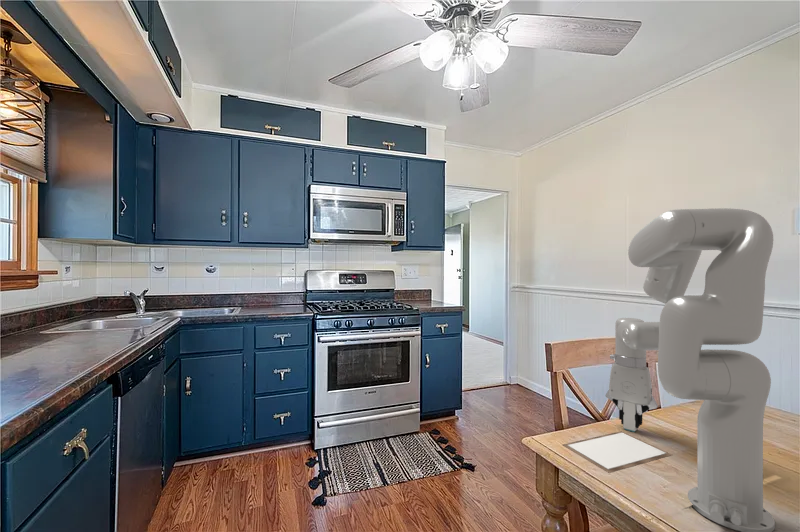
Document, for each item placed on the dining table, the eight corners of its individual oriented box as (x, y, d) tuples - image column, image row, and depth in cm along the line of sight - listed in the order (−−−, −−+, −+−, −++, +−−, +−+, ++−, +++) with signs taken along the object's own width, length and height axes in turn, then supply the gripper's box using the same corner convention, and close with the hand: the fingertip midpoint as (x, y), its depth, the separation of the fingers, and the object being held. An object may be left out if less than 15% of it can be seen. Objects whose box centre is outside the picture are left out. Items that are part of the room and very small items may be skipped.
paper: (622, 433, 103) (622, 432, 103) (666, 453, 92) (666, 452, 92) (567, 445, 96) (567, 445, 96) (608, 469, 85) (608, 468, 85)
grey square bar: (635, 435, 103) (635, 395, 103) (623, 432, 105) (623, 393, 105) (637, 432, 105) (637, 393, 105) (625, 428, 107) (625, 390, 107)
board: (621, 433, 104) (621, 431, 104) (673, 458, 91) (673, 454, 91) (561, 447, 96) (561, 444, 96) (608, 476, 83) (608, 472, 83)
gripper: (595, 358, 108) (596, 420, 108) (662, 369, 97) (662, 438, 97) (603, 354, 114) (603, 413, 114) (667, 364, 102) (667, 429, 102)
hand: (630, 424), depth 105 cm, fingers closed on grey square bar, 2 cm apart
